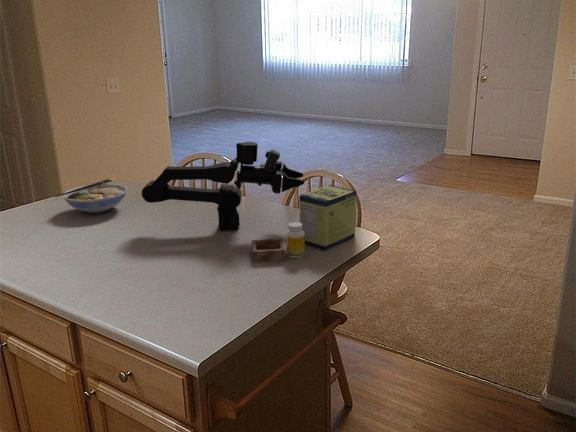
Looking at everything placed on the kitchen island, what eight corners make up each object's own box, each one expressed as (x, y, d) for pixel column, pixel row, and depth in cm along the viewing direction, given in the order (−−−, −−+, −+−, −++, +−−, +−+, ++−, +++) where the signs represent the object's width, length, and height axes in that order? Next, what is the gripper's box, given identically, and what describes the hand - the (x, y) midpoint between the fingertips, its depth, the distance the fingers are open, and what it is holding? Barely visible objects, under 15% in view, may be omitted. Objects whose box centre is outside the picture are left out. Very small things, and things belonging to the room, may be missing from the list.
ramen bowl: (90, 225, 181) (87, 202, 179) (49, 214, 193) (45, 193, 190) (144, 206, 201) (142, 185, 199) (104, 197, 213) (101, 177, 210)
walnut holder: (253, 262, 150) (253, 251, 148) (251, 250, 158) (251, 240, 157) (285, 260, 151) (285, 249, 150) (281, 248, 159) (281, 238, 158)
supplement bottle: (284, 253, 156) (283, 222, 153) (300, 250, 158) (300, 220, 154) (290, 259, 151) (289, 228, 148) (307, 257, 153) (307, 226, 150)
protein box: (355, 237, 168) (357, 190, 163) (325, 251, 157) (325, 201, 152) (329, 229, 174) (330, 184, 169) (298, 243, 163) (298, 195, 158)
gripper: (256, 157, 160) (307, 161, 161) (258, 144, 178) (304, 148, 178) (253, 192, 164) (303, 196, 164) (256, 176, 181) (301, 180, 182)
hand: (303, 178), depth 172 cm, fingers open, 9 cm apart
